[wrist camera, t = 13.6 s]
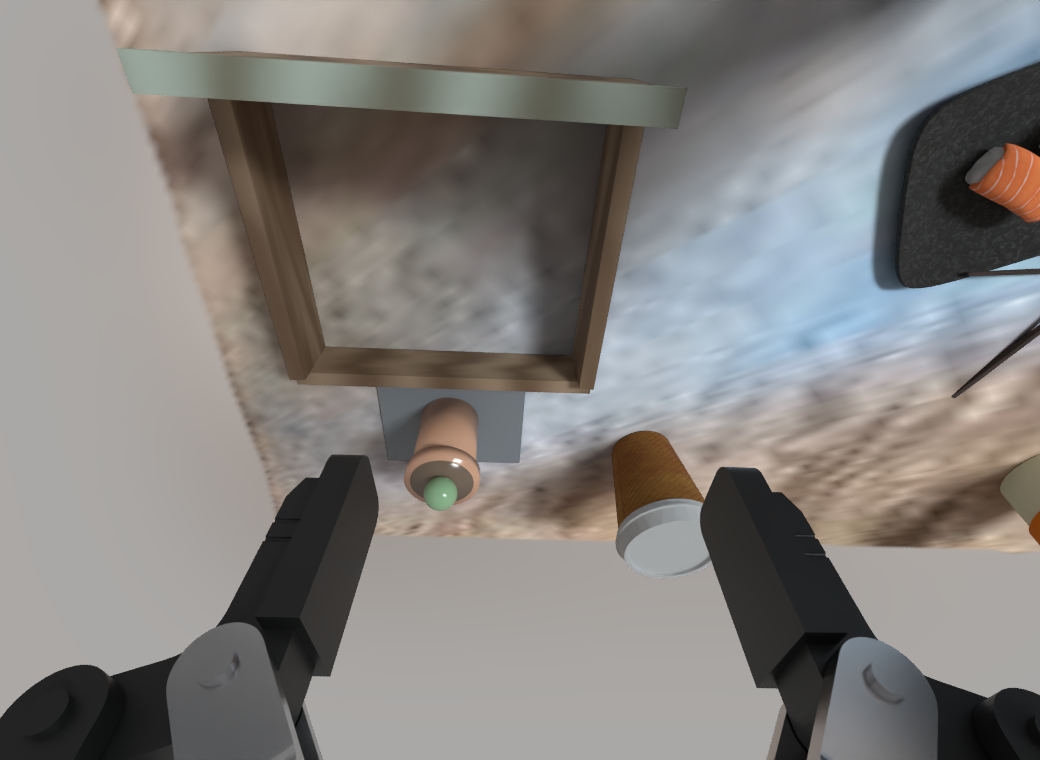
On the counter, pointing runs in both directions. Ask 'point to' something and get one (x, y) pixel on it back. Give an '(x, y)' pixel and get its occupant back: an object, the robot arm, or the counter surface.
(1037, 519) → the reusable coffee cup
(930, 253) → the sushi plate
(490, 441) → the slate mat
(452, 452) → the terracotta pot
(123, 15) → the counter surface
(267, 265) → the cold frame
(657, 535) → the disposable coffee cup
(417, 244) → the counter surface
